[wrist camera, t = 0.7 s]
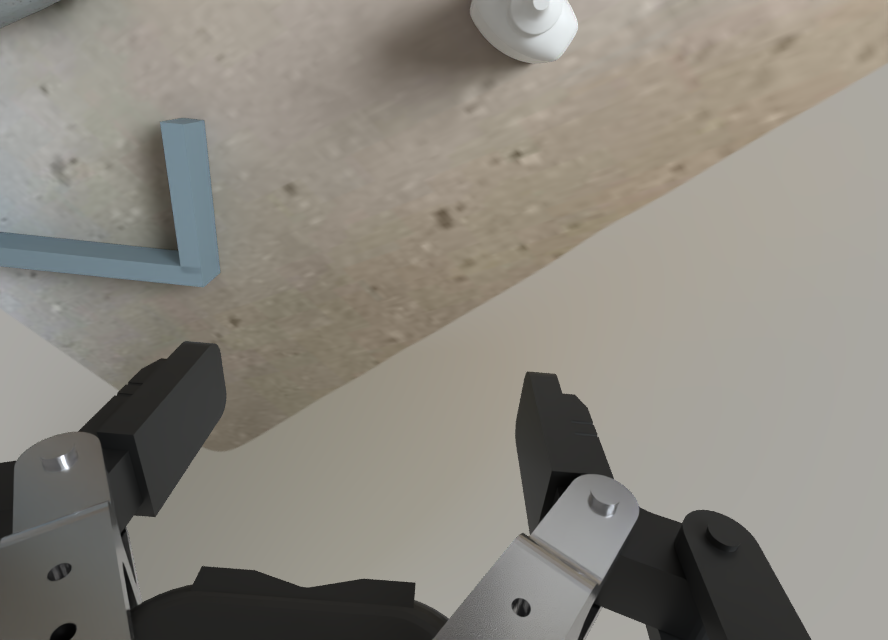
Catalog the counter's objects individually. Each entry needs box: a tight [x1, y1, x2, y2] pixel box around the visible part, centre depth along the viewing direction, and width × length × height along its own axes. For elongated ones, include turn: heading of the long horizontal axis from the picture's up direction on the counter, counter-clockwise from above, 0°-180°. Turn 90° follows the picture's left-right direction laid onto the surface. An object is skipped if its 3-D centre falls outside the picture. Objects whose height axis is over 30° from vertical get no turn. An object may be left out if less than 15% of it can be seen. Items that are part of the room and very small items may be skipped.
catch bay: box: [0, 118, 220, 287], centre depth 36 cm, size 12×19×3 cm, turn 84°
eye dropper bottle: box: [470, 0, 578, 64], centre depth 27 cm, size 4×6×12 cm
